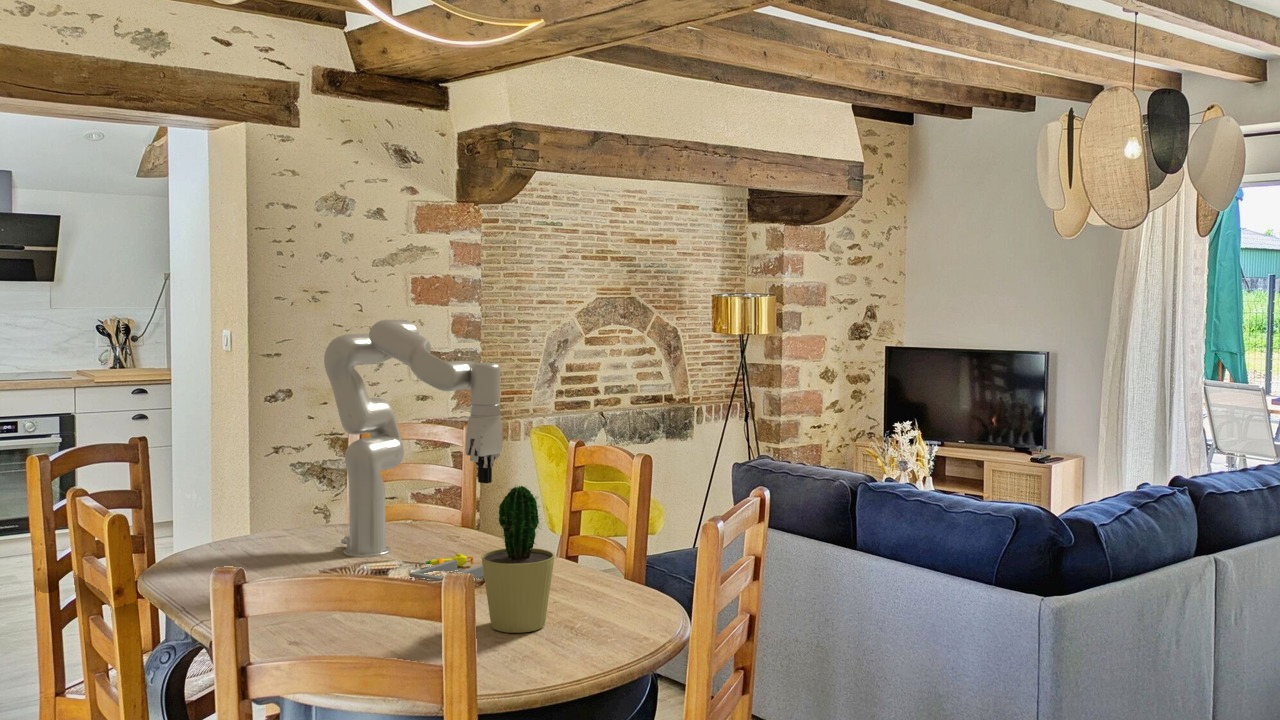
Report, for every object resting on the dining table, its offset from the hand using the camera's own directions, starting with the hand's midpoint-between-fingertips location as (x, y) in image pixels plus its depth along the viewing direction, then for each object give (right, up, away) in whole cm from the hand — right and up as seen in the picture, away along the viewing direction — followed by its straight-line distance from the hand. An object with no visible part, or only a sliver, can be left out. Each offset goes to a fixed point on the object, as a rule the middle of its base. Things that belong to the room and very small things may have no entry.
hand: (484, 482), depth 270 cm
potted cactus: (+14, -25, -47) cm, 55 cm away
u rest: (-7, -23, -12) cm, 27 cm away
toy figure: (-3, -20, +2) cm, 21 cm away
